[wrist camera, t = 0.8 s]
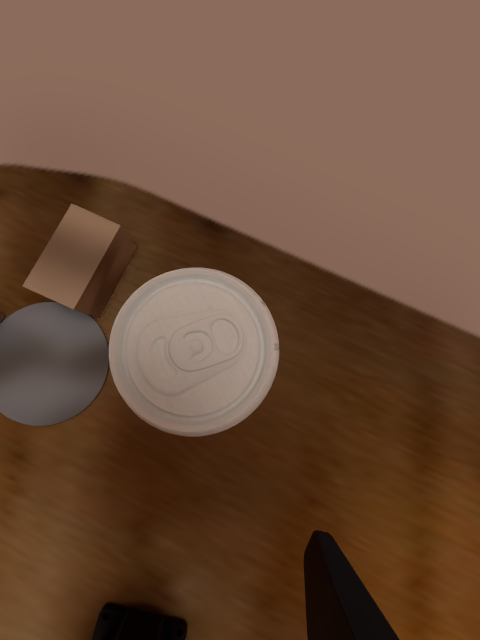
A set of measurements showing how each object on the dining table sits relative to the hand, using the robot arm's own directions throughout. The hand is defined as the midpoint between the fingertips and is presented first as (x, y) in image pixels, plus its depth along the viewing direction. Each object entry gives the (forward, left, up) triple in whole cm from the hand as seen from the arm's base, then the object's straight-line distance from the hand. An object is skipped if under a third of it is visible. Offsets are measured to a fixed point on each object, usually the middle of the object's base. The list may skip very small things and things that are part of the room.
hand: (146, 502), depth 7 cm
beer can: (+4, 0, -16) cm, 17 cm away
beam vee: (+2, +14, -16) cm, 22 cm away
